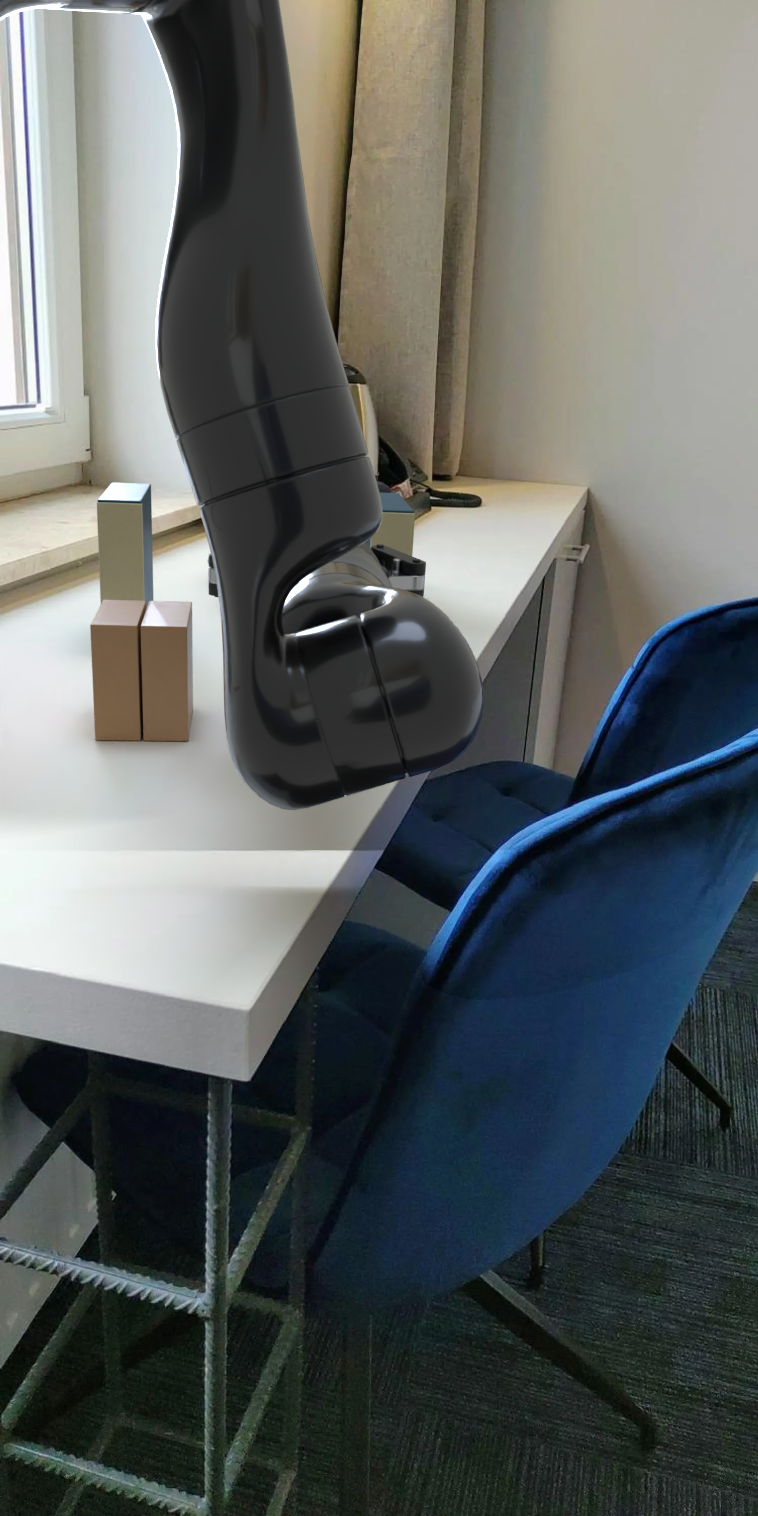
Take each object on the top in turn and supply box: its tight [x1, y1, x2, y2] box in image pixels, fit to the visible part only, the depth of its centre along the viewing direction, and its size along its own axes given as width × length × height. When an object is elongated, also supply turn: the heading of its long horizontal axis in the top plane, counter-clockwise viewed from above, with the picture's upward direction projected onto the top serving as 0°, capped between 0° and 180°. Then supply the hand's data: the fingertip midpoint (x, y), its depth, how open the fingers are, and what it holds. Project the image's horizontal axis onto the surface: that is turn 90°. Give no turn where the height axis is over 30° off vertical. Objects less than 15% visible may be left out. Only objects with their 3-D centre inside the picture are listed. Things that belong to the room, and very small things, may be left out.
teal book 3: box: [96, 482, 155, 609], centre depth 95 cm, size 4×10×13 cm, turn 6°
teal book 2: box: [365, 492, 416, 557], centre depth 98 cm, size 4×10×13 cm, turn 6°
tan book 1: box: [89, 600, 146, 742], centre depth 77 cm, size 3×7×8 cm, turn 6°
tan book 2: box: [141, 600, 194, 742], centre depth 77 cm, size 3×7×8 cm, turn 6°
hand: (309, 548), depth 77 cm, fingers closed on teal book, 3 cm apart
